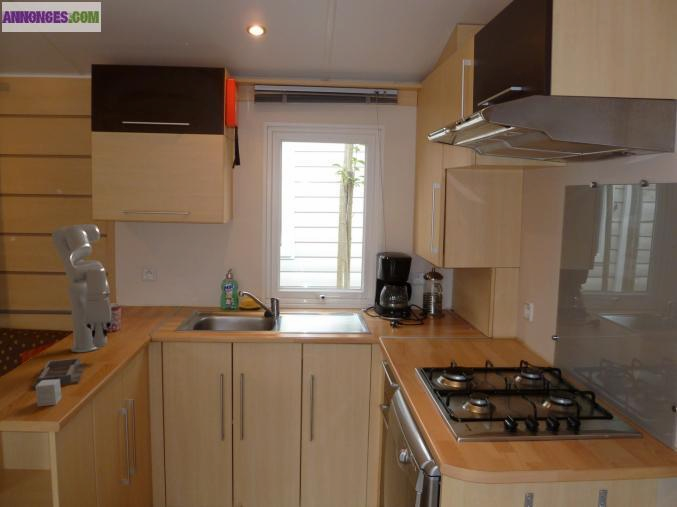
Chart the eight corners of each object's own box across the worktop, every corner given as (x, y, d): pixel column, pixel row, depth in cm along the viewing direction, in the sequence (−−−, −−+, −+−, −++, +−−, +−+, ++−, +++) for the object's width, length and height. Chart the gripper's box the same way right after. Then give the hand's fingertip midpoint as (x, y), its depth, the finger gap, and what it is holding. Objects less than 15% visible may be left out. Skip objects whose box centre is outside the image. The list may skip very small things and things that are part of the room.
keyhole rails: (48, 366, 224) (48, 361, 224) (80, 363, 228) (80, 357, 227) (37, 385, 203) (36, 378, 203) (72, 381, 207) (72, 375, 206)
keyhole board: (43, 369, 223) (43, 367, 223) (85, 365, 228) (85, 363, 228) (31, 388, 203) (31, 386, 202) (78, 383, 208) (78, 380, 207)
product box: (62, 398, 193) (60, 378, 192) (56, 405, 187) (54, 384, 186) (43, 399, 192) (41, 379, 191) (36, 406, 186) (35, 386, 185)
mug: (119, 332, 279) (117, 306, 277) (101, 333, 279) (99, 307, 277) (127, 326, 292) (125, 301, 290) (110, 326, 291) (108, 301, 289)
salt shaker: (103, 343, 237) (101, 314, 235) (110, 346, 233) (108, 316, 231) (90, 346, 233) (88, 317, 230) (96, 349, 229) (95, 319, 227)
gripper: (118, 293, 236) (120, 334, 238) (77, 295, 231) (79, 337, 233) (117, 297, 229) (119, 339, 231) (74, 299, 223) (77, 342, 226)
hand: (99, 337), depth 232 cm, fingers closed on salt shaker, 3 cm apart
